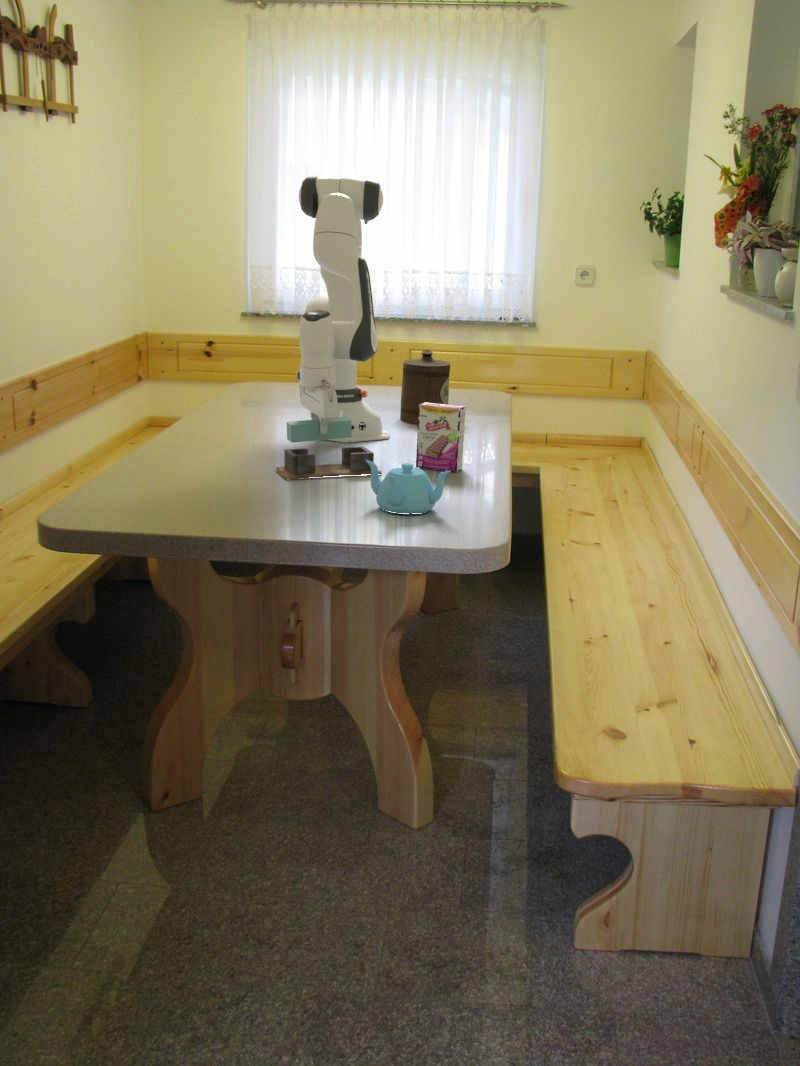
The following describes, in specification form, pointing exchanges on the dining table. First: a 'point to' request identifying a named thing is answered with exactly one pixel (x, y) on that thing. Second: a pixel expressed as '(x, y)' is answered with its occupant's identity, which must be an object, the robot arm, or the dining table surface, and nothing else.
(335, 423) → the slat
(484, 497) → the dining table surface
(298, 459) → the sharpening stone holder
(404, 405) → the wooden container
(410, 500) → the teapot
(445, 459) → the candy bar box
